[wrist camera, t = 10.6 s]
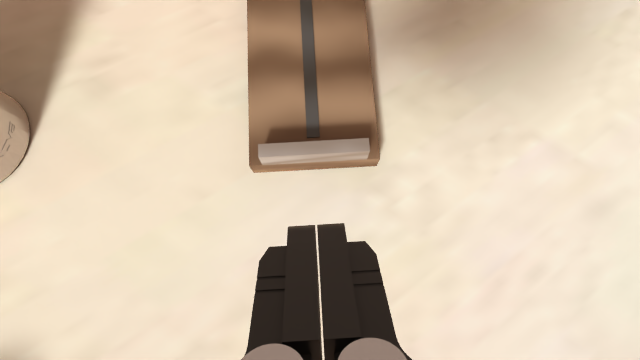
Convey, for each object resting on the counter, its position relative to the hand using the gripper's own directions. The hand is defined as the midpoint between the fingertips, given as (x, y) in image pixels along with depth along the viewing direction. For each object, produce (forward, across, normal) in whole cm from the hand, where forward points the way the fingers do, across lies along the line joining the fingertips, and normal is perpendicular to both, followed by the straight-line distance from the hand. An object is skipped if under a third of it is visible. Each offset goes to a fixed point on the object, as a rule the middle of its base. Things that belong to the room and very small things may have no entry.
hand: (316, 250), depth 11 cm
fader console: (+30, 0, -2) cm, 30 cm away
